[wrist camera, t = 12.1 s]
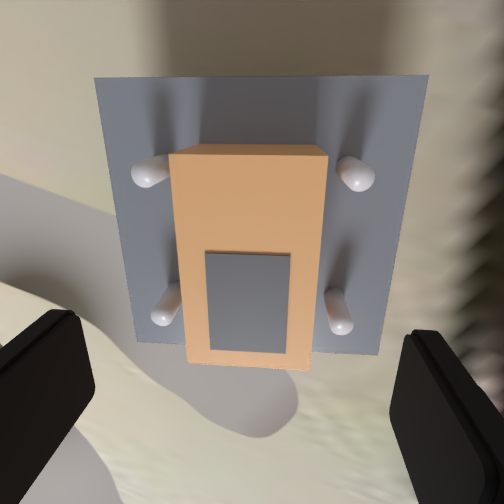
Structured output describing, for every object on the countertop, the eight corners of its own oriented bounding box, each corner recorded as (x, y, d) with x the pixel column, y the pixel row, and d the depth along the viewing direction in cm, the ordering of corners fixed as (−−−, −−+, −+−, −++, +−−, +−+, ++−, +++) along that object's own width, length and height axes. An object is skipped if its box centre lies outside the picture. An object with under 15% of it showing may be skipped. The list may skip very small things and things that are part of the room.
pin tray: (372, 343, 22) (391, 391, 18) (143, 331, 24) (116, 373, 20) (419, 77, 16) (461, 65, 12) (105, 80, 17) (55, 70, 14)
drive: (303, 313, 20) (309, 372, 16) (208, 308, 21) (187, 364, 16) (315, 144, 17) (328, 156, 12) (198, 143, 17) (167, 154, 12)
